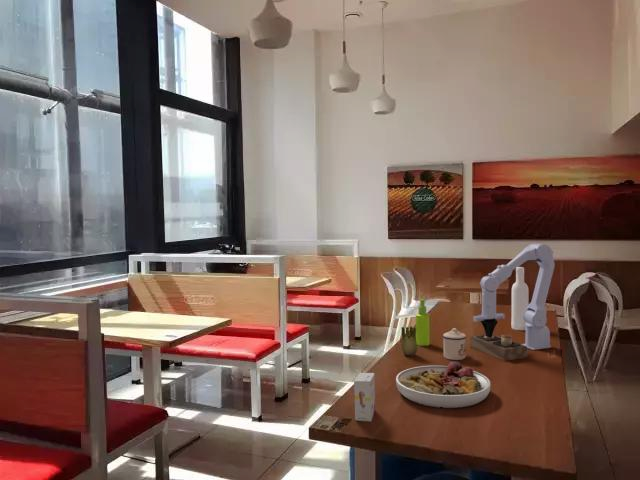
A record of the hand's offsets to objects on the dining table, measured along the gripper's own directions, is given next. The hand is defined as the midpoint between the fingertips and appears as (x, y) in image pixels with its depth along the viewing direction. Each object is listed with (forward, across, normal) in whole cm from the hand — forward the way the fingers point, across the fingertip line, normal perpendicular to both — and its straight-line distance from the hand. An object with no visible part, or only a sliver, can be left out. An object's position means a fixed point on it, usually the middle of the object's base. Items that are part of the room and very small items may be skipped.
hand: (489, 336), depth 225 cm
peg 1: (+5, 0, 0) cm, 5 cm away
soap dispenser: (+5, +21, -18) cm, 29 cm away
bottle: (+5, -36, -24) cm, 43 cm away
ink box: (+5, +78, +44) cm, 90 cm away
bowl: (+6, +47, +38) cm, 60 cm away
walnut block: (+5, 0, +6) cm, 8 cm away
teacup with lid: (+5, +19, +4) cm, 20 cm away
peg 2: (+2, 0, +11) cm, 11 cm away
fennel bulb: (+5, +35, -6) cm, 36 cm away
